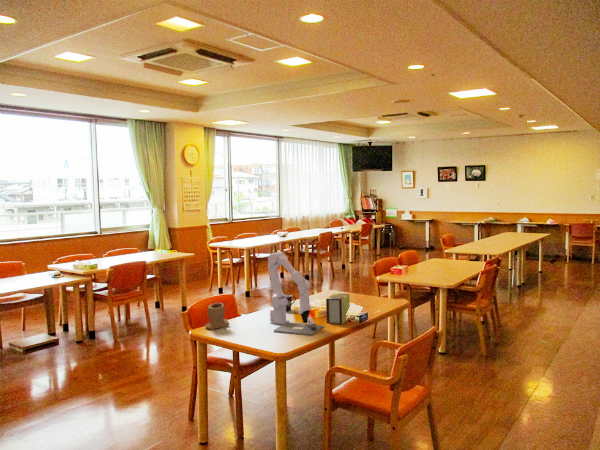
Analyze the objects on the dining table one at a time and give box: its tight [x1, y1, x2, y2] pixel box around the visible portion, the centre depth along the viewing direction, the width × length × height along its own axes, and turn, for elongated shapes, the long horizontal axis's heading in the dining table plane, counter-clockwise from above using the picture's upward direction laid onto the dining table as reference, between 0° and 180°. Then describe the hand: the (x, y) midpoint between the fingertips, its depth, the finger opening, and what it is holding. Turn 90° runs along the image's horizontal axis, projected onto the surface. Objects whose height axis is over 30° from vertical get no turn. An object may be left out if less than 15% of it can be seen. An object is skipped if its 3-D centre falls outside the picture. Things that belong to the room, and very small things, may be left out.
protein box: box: [325, 292, 351, 325], centre depth 314 cm, size 10×15×16 cm
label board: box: [273, 321, 324, 337], centre depth 297 cm, size 24×18×1 cm
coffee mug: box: [285, 294, 297, 312], centre depth 344 cm, size 12×9×10 cm
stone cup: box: [204, 302, 230, 330], centre depth 307 cm, size 15×12×15 cm
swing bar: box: [307, 316, 317, 330], centre depth 300 cm, size 18×3×3 cm, turn 8°
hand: (305, 322), depth 304 cm, fingers closed
